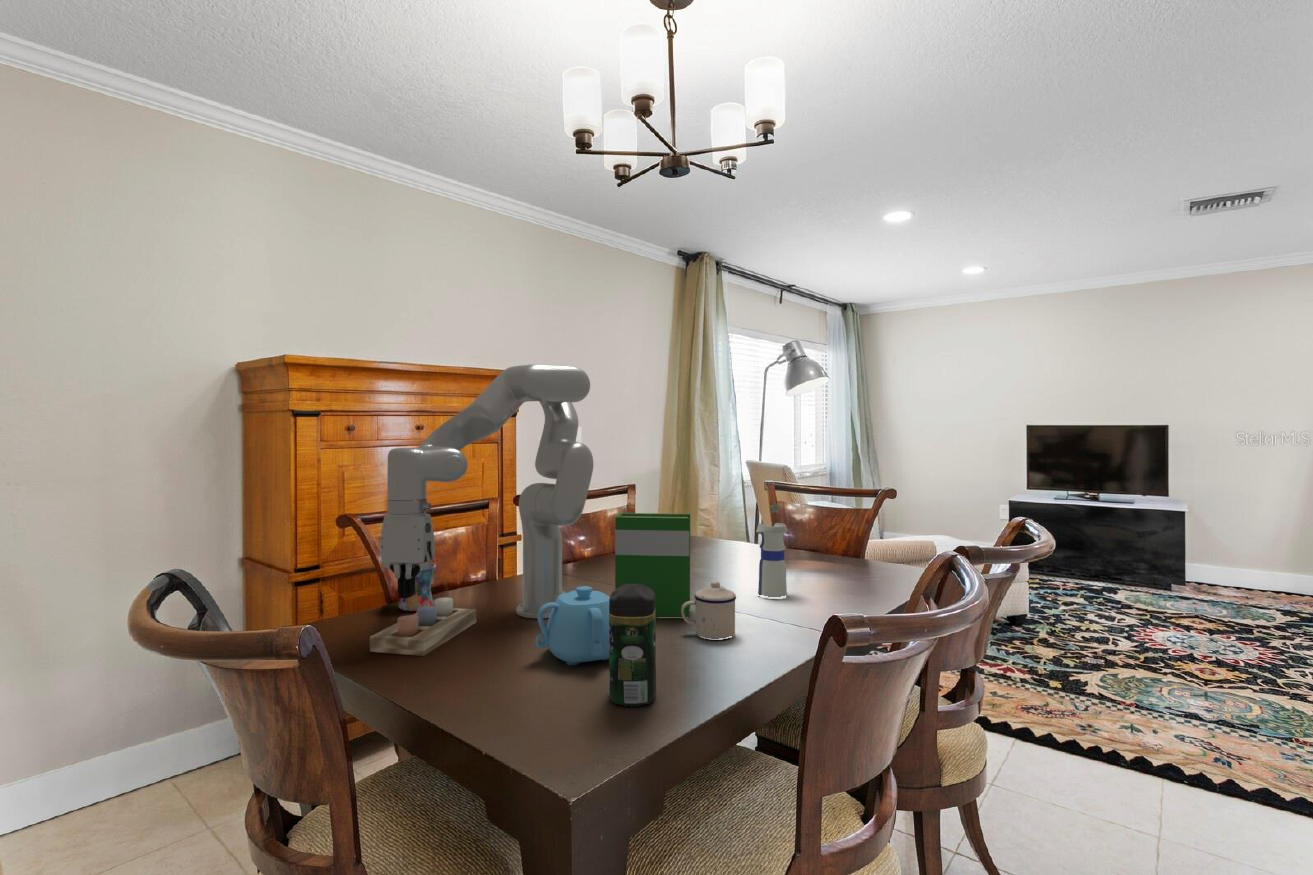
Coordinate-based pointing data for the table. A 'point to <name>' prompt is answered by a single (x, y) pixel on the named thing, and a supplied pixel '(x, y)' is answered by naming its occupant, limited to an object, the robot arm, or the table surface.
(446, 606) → the button ivory
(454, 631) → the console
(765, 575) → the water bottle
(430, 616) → the button slate
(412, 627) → the button terracotta
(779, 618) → the table surface
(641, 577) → the hardback book
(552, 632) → the decorative pot
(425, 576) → the multicolour ceramic cup
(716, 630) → the teacup with lid
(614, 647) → the coffee jar
